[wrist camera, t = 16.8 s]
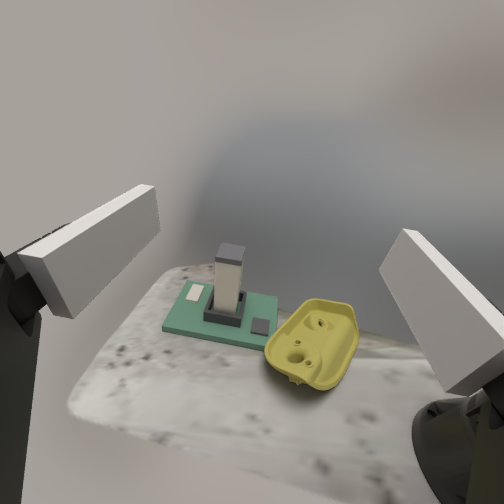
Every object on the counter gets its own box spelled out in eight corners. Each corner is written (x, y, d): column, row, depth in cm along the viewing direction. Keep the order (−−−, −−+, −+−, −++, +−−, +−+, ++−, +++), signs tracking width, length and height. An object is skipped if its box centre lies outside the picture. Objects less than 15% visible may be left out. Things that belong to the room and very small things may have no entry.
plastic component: (309, 296, 48) (358, 305, 41) (312, 326, 50) (360, 339, 43) (251, 355, 34) (313, 383, 27) (259, 394, 36) (319, 428, 29)
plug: (238, 304, 45) (245, 246, 37) (234, 320, 41) (242, 261, 33) (218, 300, 45) (221, 242, 37) (213, 316, 41) (215, 256, 33)
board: (276, 301, 48) (280, 288, 46) (273, 352, 39) (278, 339, 36) (187, 285, 49) (186, 271, 47) (162, 331, 39) (160, 316, 37)
